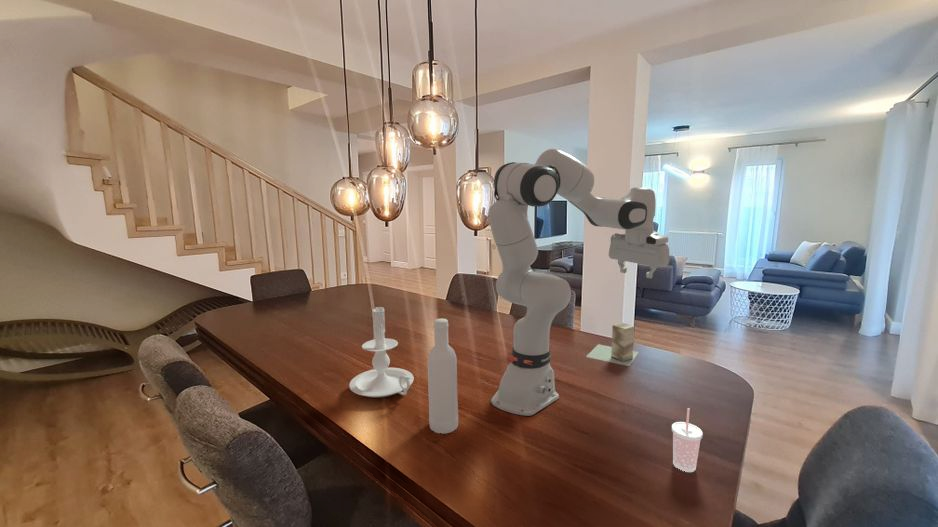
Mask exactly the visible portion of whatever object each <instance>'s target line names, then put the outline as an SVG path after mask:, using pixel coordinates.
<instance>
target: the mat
mask: <svg viewBox="0 0 938 527" xmlns="http://www.w3.org/2000/svg"><path fill="white" fill-rule="evenodd" d="M611 350H612V346H608V345H604V344H600V343H598V344H597V345H596V346H595V347H594V348H593V349H592V350H591V351H590V352H588V353H587V355H586V356H585V357H586V358H590V359H594V360H599V361H603V362H606V363H607V362H609V363H612V364H613V363H614V364H617V365H621V366H626V367H627V366H628V367H630V366H631V364H632V362H634V360H635V359H636V357H637V355H638V354H639V351H635V350H633V359H631V360H629V361H626V362H621V361H619V360H616V359H614V358H611Z"/></svg>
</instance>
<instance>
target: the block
mask: <svg viewBox="0 0 938 527" xmlns="http://www.w3.org/2000/svg"><path fill="white" fill-rule="evenodd" d="M611 332H612V335H611V347H612V350H611V358H614V359H616V360H619V361H621V362H626V361H629V360H631V359H633V351H634V343H635V342H634V340H635V325H632V324H629V323H624V322H619V323H615V324H612V331H611Z"/></svg>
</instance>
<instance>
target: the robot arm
mask: <svg viewBox="0 0 938 527" xmlns="http://www.w3.org/2000/svg"><path fill="white" fill-rule="evenodd" d="M594 186H595V174H594V173H593V171H591V169H590V167H588V166H587V165H586V164H584V162H581V161H580V160H578V159H577V158H575V157H574V156H572V155H571V154H569V153H567V152H565V151H563V150H560V149H557V148H549V149H546V150H545V151H543V152H542V153H541V154H540V155H539V157H538V158H537V160H535V163H533V164H532V163H527V162H507V163H505V164H503V165H501V166H500V167H499V168H498V169H497V170H496V172H495V174H494V179H493V188H494V191H493V193H494V195H493V196H494V198H495V200H496V201H495V202H494V203H492V205H491V206H490V207H489V209H488V220H489V226H490V229H491V233H492V237H493V240H494V243H495V246H496V247H497V251H498V254H499V258H500V261H501V265H502V271H501V272H500V274H499V275H498V277H497V279H496V282H495V290H496V294H497V296H498V297H500V298H501V299H503V300H505V301H507V302H509V303H511V304H516V305H520V306H523V307H526V314H525V316H524V317H522V318H519V319H518V320H517V321H516V322H515V324H514V326H513V347H512V349H511V353H510V354H507V356H506V361H507V362H509V365H507V368H506V370H505V372H504V374H503V376H502V378H501V380H500V382H499V387H498V390H497V391H496V393H495V394H494V395H493V396H492V397H491V399H490V400H491V401H490V403H491V404H492V406H494V407H496V408H497V409H500V410H502V411H505V412H507V413H510V414H514V415H518V416H519V415H520V416H527V417H528V416H530V417H531V416H533V415H535V414H536V413H538V412H539V411H541V410H543V409H544V408H546V407H548V406H550V405H551V404H552V403H554V402H555V401H557V400H559V398H560V395H559V393H558V392H557V391H556V386H555V372H554V370H553V368H552V366H551V364H550V362H551V349H550V333H551V332H550V331H551V326H552V323H553V320H554V318H555V317H556V316H557V315H558V313H560V312H561V311H564V309H565V308H566V307H567V306H568V305H569V303H570V302H571V297H572V289H571V286H570V284H569V282H568V281H567V280H566V279H565V278H562V277H560V276H557V275H554V274H551V273H545V272H539V271H534V270H533V269H532V267H531V265H533V263H535V261H536V260H537V257H538V255H539V249H538V246H537V242H536V239H535V237H534V236H535V235H534V233H533V230H532V229H533V228H532V227H531V226H532V225H531V224H530V221H529V219H528V218H529V217H528V209H529V207H533V208H536V207H537V208H539V207H544V206H547V205H549V204H551V202H552V201H553V200H554V199H555V198H556V196H557V195H559V196H560V197H562V198H563V199H565V200H567V201H568V202H569V203H570V204H571V205H573V206H574V207H576V208H577V209H578V210H579V211H581V213H583V214H584V215H585V217H586V219H587V221H588V222H589V223H590V225H592V226H594V227H599V228H600V227H602V228H603V227H604V228H612V229H616V230H617V229H618V230H624V231H625V232H624V233H618V232H617V233H616V232H615V233H614V234H612V235H611V236H610V245H609V249H608V257H609V259H612V260H617V265H618V266H619V268H620V273H621V274H625V273H627V270H628V268H627V267H626V266H625V262H628V263H634V264H638V265H639V264H641V265H645V266H649V269H650V271H647V272H646V273H645V275H646V276H645V278H647V279H652V278H653V276H654V273H655V271H656V270H657V268H665V267H667V266H668V265H669V264H670V247H669V245H668V244H667V243H668V242H669V237H668V236H666V235H665V234H662V233H660V232H658V231H656V230H655V225H654V219H655V216H656V208H657V206H656V205H657V204H656V200H657V199H656V194H655V191H654V190H653V189H650V188H646V187H632V188H630V190H629V192H628V193H627V194H626V195H625V196H624V197H621V198H610V197H609V198H607V197H602V196H595V195H593V194H592V190H593V189H594Z"/></svg>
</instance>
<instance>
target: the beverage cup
mask: <svg viewBox="0 0 938 527" xmlns="http://www.w3.org/2000/svg"><path fill="white" fill-rule="evenodd" d="M690 409H691V408H689V407H688V408H687V409H686V410H687V411H686V422H685V421H675V422H674V423H671V432H672V465H673V466H674V467H675V468H676V469H677V468H678V470H679V469H680V471H681V470H682V472H684V471H685V473H693V472H695V471H696V468H697V464H698V459H699V458H698V457H699V451H700V446H701V445H700V444H701V440H702V439H703V436H704V435H703V431H702V429H701V428H700V427H698V426H697V425H695V424H692V423H690V411H691V410H690Z"/></svg>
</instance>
